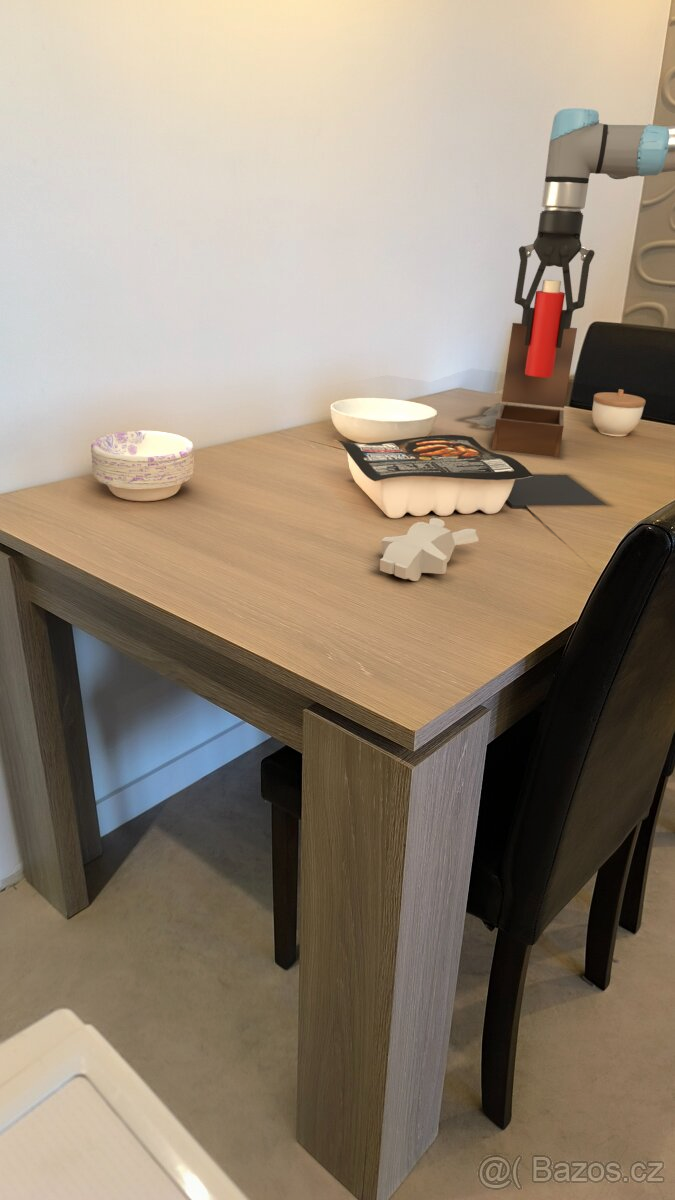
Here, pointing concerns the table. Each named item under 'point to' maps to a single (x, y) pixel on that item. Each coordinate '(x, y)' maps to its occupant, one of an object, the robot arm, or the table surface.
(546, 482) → the mat
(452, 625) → the table surface
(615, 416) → the trinket box
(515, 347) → the chest lid
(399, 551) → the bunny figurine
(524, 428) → the chest
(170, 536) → the table surface
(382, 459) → the food packaging
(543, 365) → the ketchup
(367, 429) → the serving bowl
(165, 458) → the paper bowls
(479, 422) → the cloth
